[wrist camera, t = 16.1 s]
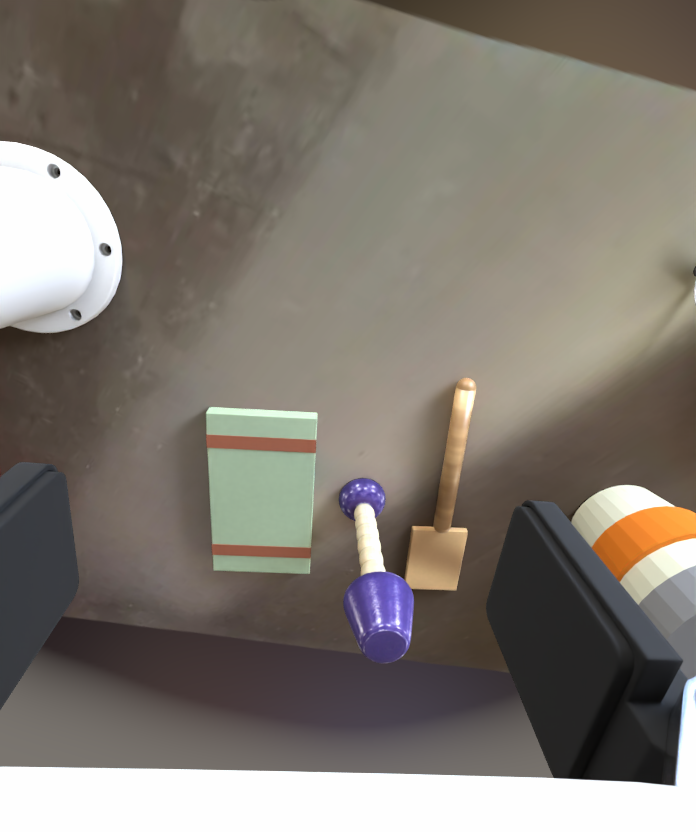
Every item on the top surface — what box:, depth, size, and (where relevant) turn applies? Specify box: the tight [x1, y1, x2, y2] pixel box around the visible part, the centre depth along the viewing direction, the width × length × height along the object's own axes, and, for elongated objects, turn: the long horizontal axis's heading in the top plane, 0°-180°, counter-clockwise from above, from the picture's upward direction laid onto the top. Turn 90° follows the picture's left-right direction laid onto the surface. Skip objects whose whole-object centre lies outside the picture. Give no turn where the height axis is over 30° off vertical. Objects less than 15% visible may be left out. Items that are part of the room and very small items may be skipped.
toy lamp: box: [339, 478, 414, 663], centre depth 35 cm, size 5×5×17 cm
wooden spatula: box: [404, 378, 476, 590], centre depth 42 cm, size 22×5×2 cm, turn 176°
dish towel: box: [206, 407, 317, 574], centre depth 42 cm, size 9×16×2 cm, turn 176°
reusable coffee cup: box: [571, 485, 696, 680], centre depth 38 cm, size 13×13×15 cm
